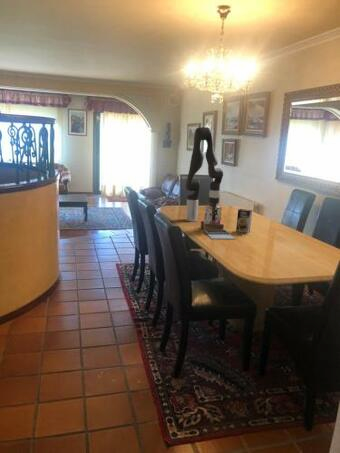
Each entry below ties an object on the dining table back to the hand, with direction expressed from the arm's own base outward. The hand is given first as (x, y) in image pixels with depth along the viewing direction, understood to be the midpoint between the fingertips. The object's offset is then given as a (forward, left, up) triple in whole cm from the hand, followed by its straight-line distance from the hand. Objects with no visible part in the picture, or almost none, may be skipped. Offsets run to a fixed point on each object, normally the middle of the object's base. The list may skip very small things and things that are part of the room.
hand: (212, 219), depth 269 cm
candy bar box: (0, 0, -7) cm, 7 cm away
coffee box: (+6, +22, -8) cm, 24 cm away
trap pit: (+12, 0, -7) cm, 14 cm away
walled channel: (0, 0, -7) cm, 7 cm away
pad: (+23, 0, -7) cm, 24 cm away
